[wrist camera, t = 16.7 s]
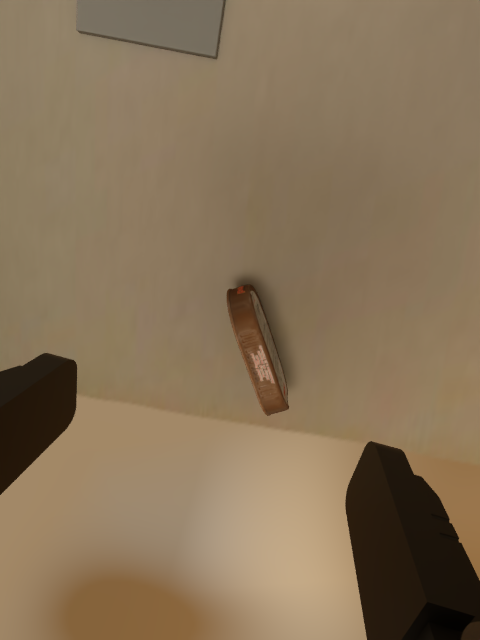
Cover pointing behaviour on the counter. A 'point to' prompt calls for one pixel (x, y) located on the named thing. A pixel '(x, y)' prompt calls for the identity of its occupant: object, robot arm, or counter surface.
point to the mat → (156, 23)
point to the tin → (258, 348)
